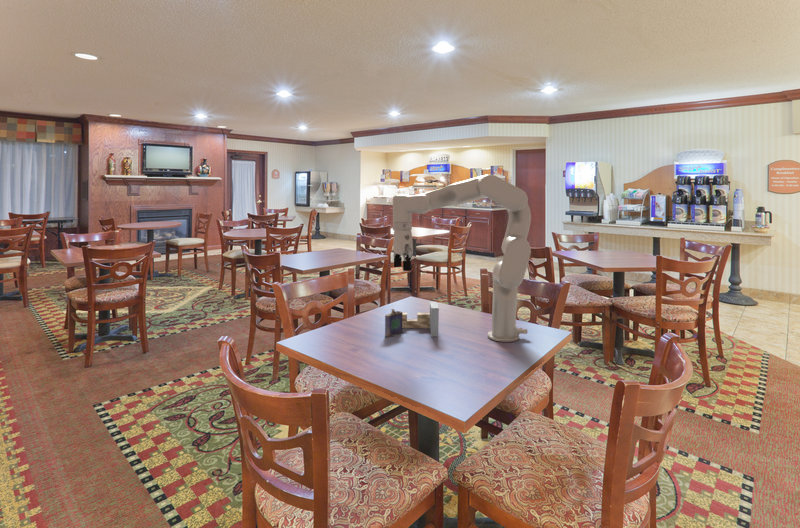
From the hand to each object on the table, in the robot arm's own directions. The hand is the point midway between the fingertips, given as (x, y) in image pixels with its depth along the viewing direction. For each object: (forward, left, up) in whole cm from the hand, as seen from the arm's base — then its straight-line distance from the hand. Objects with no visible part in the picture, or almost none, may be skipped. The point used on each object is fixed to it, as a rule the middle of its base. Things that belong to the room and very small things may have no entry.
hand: (402, 268), depth 179 cm
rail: (-4, -13, -28) cm, 31 cm away
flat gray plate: (-13, -5, -28) cm, 32 cm away
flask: (+4, -3, -28) cm, 29 cm away
